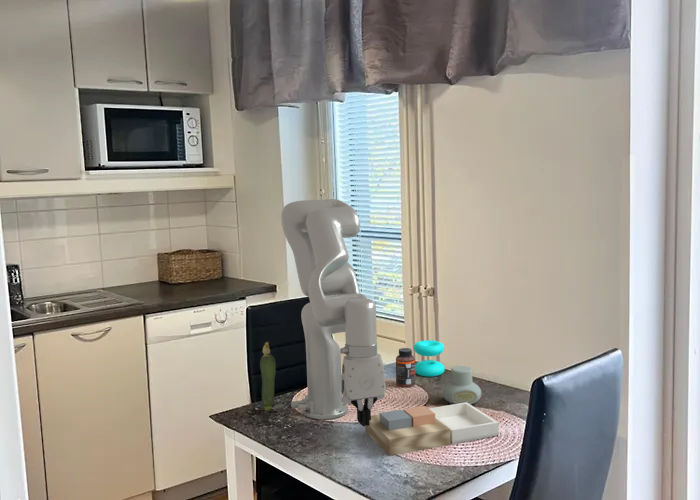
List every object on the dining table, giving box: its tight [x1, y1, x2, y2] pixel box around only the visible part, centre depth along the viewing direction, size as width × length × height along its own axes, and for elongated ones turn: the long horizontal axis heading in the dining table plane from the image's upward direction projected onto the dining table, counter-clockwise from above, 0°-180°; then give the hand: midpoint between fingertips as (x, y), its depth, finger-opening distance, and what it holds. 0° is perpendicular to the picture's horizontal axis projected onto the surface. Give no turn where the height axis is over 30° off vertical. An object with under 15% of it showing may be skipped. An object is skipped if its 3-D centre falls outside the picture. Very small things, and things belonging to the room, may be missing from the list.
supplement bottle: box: [395, 347, 416, 388], centre depth 214 cm, size 6×6×11 cm
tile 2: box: [402, 405, 435, 426], centre depth 174 cm, size 6×6×2 cm
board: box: [364, 414, 451, 456], centre depth 174 cm, size 16×16×4 cm
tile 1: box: [378, 409, 412, 431], centre depth 172 cm, size 6×6×2 cm
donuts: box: [413, 339, 446, 378], centre depth 226 cm, size 10×10×10 cm
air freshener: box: [442, 365, 482, 405], centre depth 198 cm, size 11×8×10 cm
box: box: [427, 402, 500, 445], centre depth 179 cm, size 13×16×4 cm
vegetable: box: [259, 341, 277, 412], centre depth 195 cm, size 4×4×20 cm
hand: (364, 424), depth 169 cm, fingers closed
